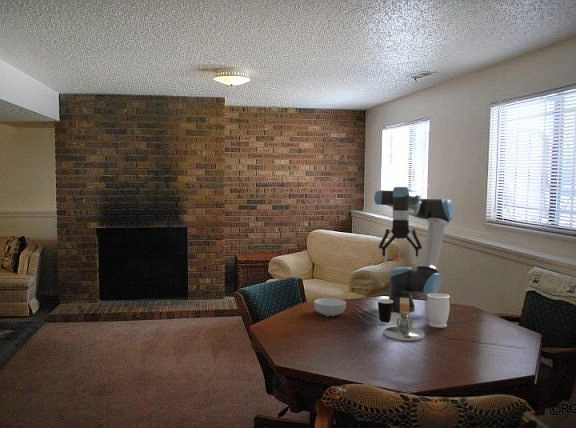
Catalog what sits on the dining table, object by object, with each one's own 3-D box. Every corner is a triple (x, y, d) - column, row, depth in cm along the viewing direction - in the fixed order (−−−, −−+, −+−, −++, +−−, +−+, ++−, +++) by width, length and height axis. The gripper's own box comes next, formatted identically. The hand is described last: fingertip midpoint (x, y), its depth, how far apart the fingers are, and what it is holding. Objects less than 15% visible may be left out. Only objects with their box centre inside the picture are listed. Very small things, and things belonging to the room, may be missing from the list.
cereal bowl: (347, 319, 247) (347, 305, 246) (314, 319, 247) (314, 305, 246) (343, 310, 263) (344, 297, 263) (313, 310, 264) (313, 297, 263)
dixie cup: (396, 323, 239) (396, 301, 238) (383, 325, 235) (383, 303, 234) (386, 319, 246) (386, 298, 245) (373, 321, 242) (373, 299, 241)
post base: (381, 329, 230) (381, 311, 229) (420, 330, 228) (420, 312, 228) (386, 341, 212) (386, 322, 211) (428, 342, 210) (428, 323, 210)
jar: (446, 322, 240) (447, 293, 239) (451, 329, 230) (452, 297, 229) (424, 322, 241) (425, 292, 240) (428, 328, 231) (429, 297, 230)
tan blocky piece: (396, 332, 214) (397, 304, 213) (396, 323, 227) (397, 297, 226) (411, 333, 213) (412, 304, 212) (411, 324, 225) (411, 298, 225)
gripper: (375, 219, 229) (374, 264, 230) (428, 219, 227) (427, 264, 228) (373, 218, 236) (372, 261, 238) (425, 218, 235) (424, 262, 236)
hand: (399, 263), depth 233 cm, fingers open, 13 cm apart
